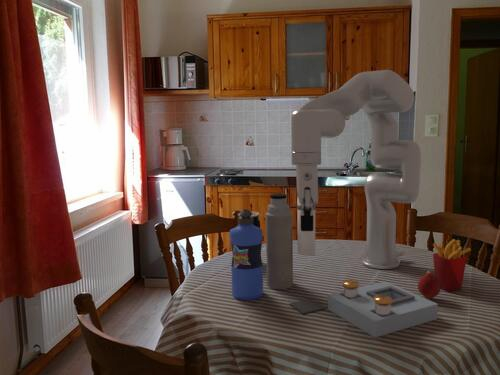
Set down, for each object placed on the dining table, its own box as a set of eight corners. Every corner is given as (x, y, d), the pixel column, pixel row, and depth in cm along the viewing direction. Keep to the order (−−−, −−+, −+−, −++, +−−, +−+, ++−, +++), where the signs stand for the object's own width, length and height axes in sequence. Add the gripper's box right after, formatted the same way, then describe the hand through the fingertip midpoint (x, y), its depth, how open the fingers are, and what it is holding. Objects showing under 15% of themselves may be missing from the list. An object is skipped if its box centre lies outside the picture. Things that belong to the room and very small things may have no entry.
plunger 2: (382, 319, 111) (383, 293, 110) (395, 326, 107) (396, 299, 106) (369, 323, 109) (370, 296, 108) (381, 330, 105) (382, 303, 104)
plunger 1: (351, 302, 121) (351, 278, 120) (361, 308, 117) (362, 283, 116) (339, 306, 119) (339, 281, 118) (349, 311, 116) (349, 286, 115)
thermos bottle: (294, 280, 141) (293, 192, 137) (291, 290, 133) (290, 196, 129) (269, 279, 142) (267, 192, 138) (265, 288, 135) (263, 196, 131)
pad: (310, 299, 125) (310, 298, 125) (325, 308, 119) (325, 307, 119) (289, 304, 122) (289, 303, 122) (303, 314, 116) (303, 312, 116)
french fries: (430, 285, 134) (432, 236, 132) (452, 281, 137) (454, 233, 134) (453, 296, 126) (455, 244, 123) (476, 292, 128) (478, 241, 126)
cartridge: (314, 250, 121) (314, 195, 119) (316, 255, 116) (316, 198, 114) (297, 250, 121) (296, 195, 119) (297, 255, 116) (297, 198, 114)
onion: (439, 296, 126) (440, 268, 125) (440, 304, 120) (441, 275, 119) (417, 294, 128) (418, 267, 127) (417, 302, 122) (418, 273, 121)
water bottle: (252, 302, 124) (250, 214, 121) (225, 296, 129) (222, 211, 126) (269, 291, 132) (268, 208, 128) (242, 286, 137) (240, 205, 133)
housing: (385, 294, 128) (386, 278, 127) (437, 319, 112) (437, 300, 111) (328, 309, 119) (328, 291, 118) (374, 337, 103) (375, 318, 102)
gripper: (324, 161, 106) (324, 236, 109) (318, 156, 123) (318, 221, 126) (292, 162, 107) (292, 236, 109) (290, 156, 124) (291, 221, 126)
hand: (306, 227), depth 118 cm, fingers closed on cartridge, 4 cm apart
